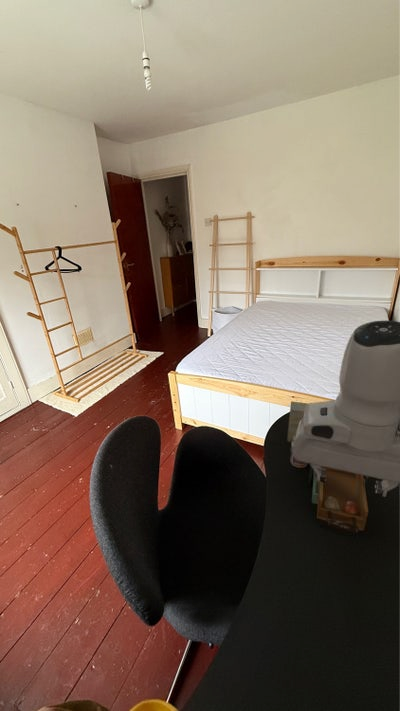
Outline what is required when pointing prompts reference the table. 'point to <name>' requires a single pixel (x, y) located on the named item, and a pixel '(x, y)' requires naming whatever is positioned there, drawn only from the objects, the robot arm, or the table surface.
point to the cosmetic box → (295, 418)
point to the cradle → (323, 522)
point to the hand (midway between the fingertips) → (349, 485)
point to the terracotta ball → (350, 508)
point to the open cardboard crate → (343, 499)
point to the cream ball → (330, 503)
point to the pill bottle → (293, 460)
